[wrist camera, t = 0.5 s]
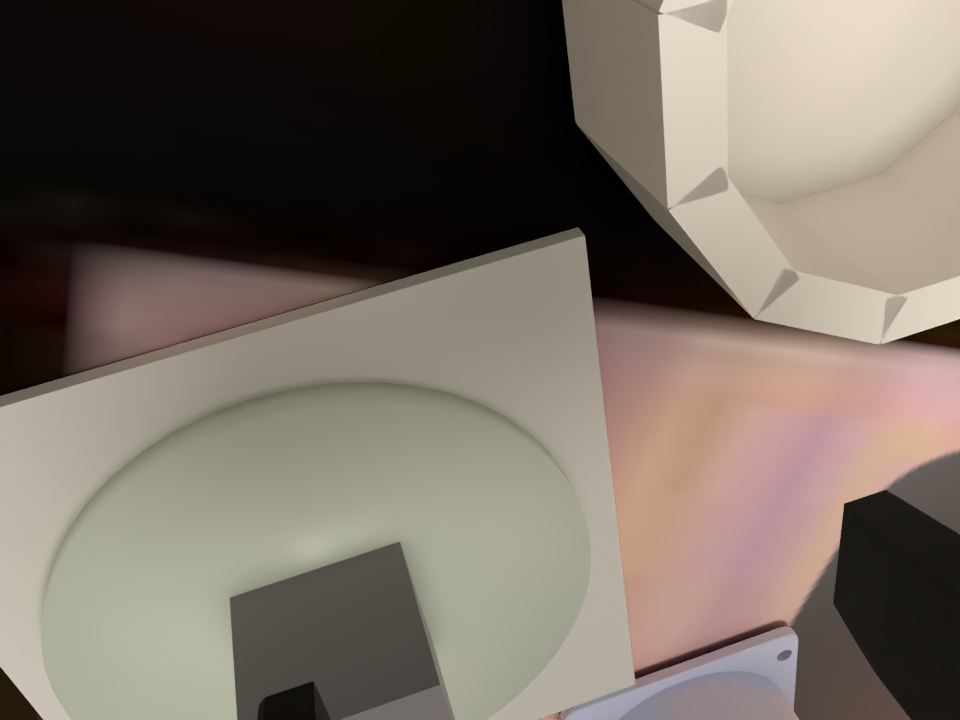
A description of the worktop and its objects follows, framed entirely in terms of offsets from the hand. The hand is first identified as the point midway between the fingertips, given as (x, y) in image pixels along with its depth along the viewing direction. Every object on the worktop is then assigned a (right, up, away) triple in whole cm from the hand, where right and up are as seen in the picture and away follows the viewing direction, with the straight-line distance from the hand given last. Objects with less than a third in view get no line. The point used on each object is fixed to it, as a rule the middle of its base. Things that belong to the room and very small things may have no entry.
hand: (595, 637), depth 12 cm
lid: (-5, -2, +11) cm, 12 cm away
